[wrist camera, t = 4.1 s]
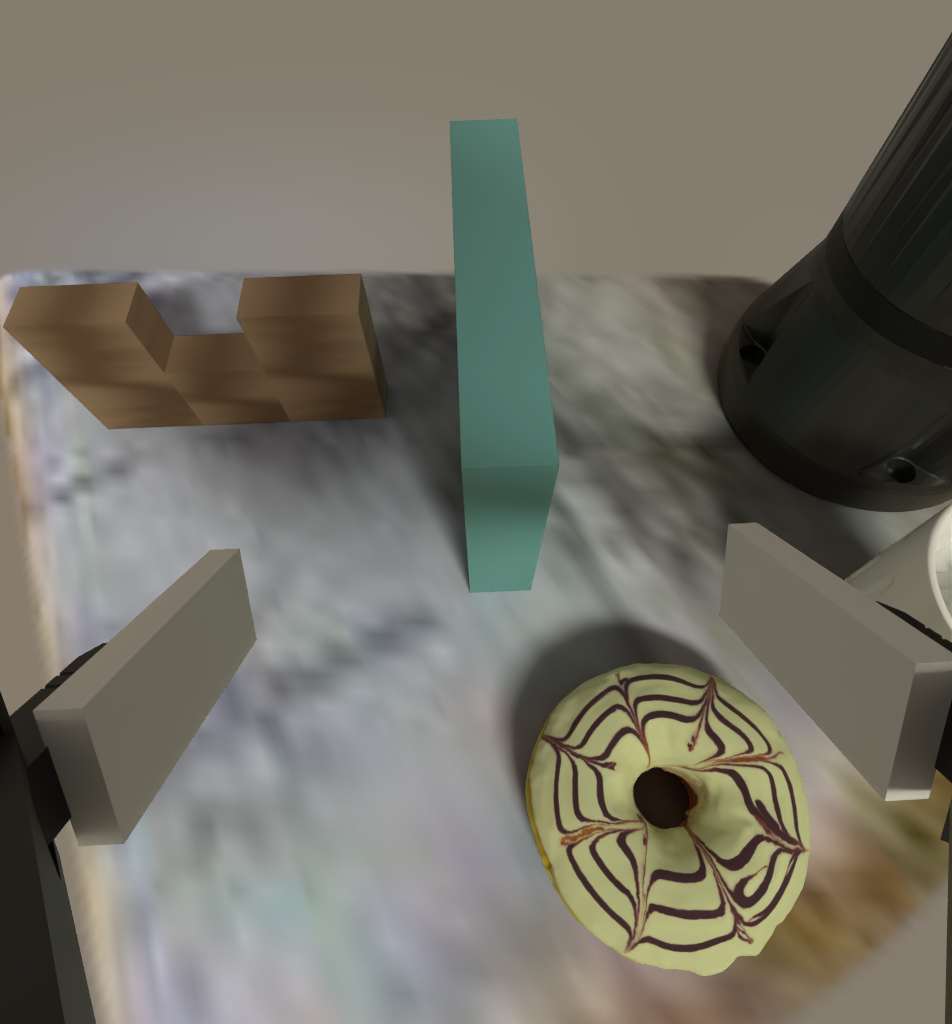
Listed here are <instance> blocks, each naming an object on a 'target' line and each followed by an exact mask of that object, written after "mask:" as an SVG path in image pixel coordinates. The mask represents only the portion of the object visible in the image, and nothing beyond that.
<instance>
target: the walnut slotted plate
mask: <svg viewBox="0 0 952 1024" xmlns="http://www.w3.org/2000/svg"><path fill="white" fill-rule="evenodd" d="M236 318H237V320H238V322H239V324H240V326H241V328H242V330H243V331H244V333H238V334H213V335H188V336H174V335H173V334H172V332H171V331H170V329H169V328H168V326H167V325H166V323H165V322H164V320H163V319H162V318H161V316H160V315H159V313H158V312H157V310H156V309H155V307H154V306H153V304H152V303H151V301H150V300H149V298H148V297H147V295H146V294H145V292H144V291H143V290H142V288H141V287H140V285H139V284H138V282H136V283H111V284H85V285H59V286H33V287H20V289H19V291H18V293H17V296H16V298H15V300H14V302H13V305H12V307H11V309H10V312H9V314H8V316H7V318H6V321H5V323H4V325H3V328H4V329H5V330H6V331H7V332H9V333H10V334H11V335H12V336H13V337H14V338H15V339H16V340H17V341H18V342H19V343H20V344H21V345H22V346H23V347H24V348H25V349H26V350H27V351H28V352H29V353H30V354H31V355H32V356H33V357H34V358H35V359H36V360H37V361H38V362H39V363H41V364H42V365H43V366H44V367H45V368H46V369H47V370H48V371H49V372H50V373H51V374H52V375H53V376H54V377H55V378H56V379H57V380H58V381H59V382H60V383H61V384H62V385H63V386H64V387H65V388H66V389H67V390H68V391H69V392H70V393H72V394H73V395H74V396H75V397H76V398H77V399H78V400H79V401H80V402H81V403H82V404H83V405H84V406H85V407H86V408H87V409H88V410H89V411H90V412H91V413H92V414H93V415H94V416H95V417H96V418H97V419H98V420H99V421H100V422H101V423H103V424H104V425H105V426H106V427H107V428H108V429H118V428H143V427H168V426H192V425H217V424H242V423H266V422H291V421H316V420H340V419H365V418H386V393H387V382H386V378H385V373H384V369H383V365H382V361H381V356H380V352H379V348H378V344H377V340H376V335H375V331H374V327H373V323H372V318H371V314H370V310H369V306H368V302H367V297H366V293H365V289H364V285H363V280H362V276H361V274H343V275H317V276H291V277H265V278H244V282H243V287H242V292H241V297H240V302H239V307H238V312H237V317H236Z"/></svg>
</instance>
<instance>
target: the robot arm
mask: <svg viewBox="0 0 952 1024" xmlns="http://www.w3.org/2000/svg"><path fill="white" fill-rule="evenodd" d="M718 388H719V394H720V398H721V402H722V405H723V408H724V410H725V413H726V415H727V417H728V419H729V421H730V423H731V425H732V426H733V428H734V430H735V431H736V433H737V434H738V436H739V437H740V438H741V440H742V441H743V442H744V443H745V445H746V446H747V447H748V448H749V449H750V450H751V451H752V452H753V453H754V454H755V455H756V457H758V458H759V459H760V460H761V461H762V462H763V463H764V464H765V465H767V466H768V467H769V468H770V469H771V470H773V471H774V472H775V473H777V474H778V475H780V476H781V477H783V478H784V479H786V480H787V481H789V482H790V483H792V484H794V485H796V486H797V487H799V488H801V489H803V490H805V491H807V492H809V493H811V494H813V495H816V496H818V497H820V498H823V499H826V500H828V501H831V502H834V503H838V504H841V505H844V506H848V507H853V508H857V509H863V510H870V511H879V512H904V511H914V510H920V509H924V508H929V507H932V506H935V505H938V504H941V503H943V502H946V501H948V500H950V499H952V33H951V35H950V36H949V38H948V40H947V41H946V43H945V44H944V46H943V48H942V49H941V51H940V53H939V54H938V56H937V58H936V59H935V61H934V62H933V64H932V66H931V67H930V69H929V71H928V72H927V74H926V76H925V77H924V79H923V81H922V82H921V84H920V85H919V87H918V89H917V90H916V92H915V94H914V95H913V97H912V98H911V100H910V102H909V104H908V105H907V107H906V108H905V110H904V112H903V113H902V115H901V116H900V118H899V120H898V121H897V123H896V125H895V126H894V128H893V130H892V131H891V133H890V134H889V136H888V138H887V139H886V141H885V143H884V144H883V146H882V148H881V149H880V151H879V153H878V154H877V156H876V157H875V159H874V161H873V162H872V164H871V166H870V167H869V169H868V171H867V172H866V174H865V175H864V177H863V179H862V180H861V182H860V184H859V185H858V187H857V188H856V190H855V192H854V194H853V195H852V197H851V198H850V200H849V202H848V204H847V206H846V207H845V209H844V210H843V212H842V213H841V215H840V217H839V218H838V220H837V221H836V223H835V224H834V226H833V228H832V229H831V231H830V232H829V234H828V236H827V237H826V238H825V239H824V240H823V241H822V242H821V243H820V244H818V245H817V246H816V247H815V248H814V249H813V250H812V251H810V252H809V253H808V254H807V255H806V256H805V257H804V258H802V259H801V260H800V261H799V262H798V263H797V264H796V265H795V266H793V267H792V268H791V269H790V270H789V271H788V272H787V273H785V274H784V275H783V276H782V277H781V278H780V279H779V280H777V281H776V282H775V283H774V284H773V285H772V286H771V287H769V288H768V289H767V290H766V291H765V292H764V293H763V294H762V295H760V296H759V297H758V298H757V299H756V300H755V301H754V302H753V303H752V304H751V305H750V306H749V307H748V309H747V310H746V311H745V312H744V314H743V315H742V316H741V318H740V319H739V321H738V323H737V325H736V326H735V328H734V330H733V332H732V334H731V336H730V337H729V339H728V341H727V343H726V345H725V347H724V349H723V351H722V354H721V357H720V361H719V366H718ZM719 615H720V617H721V618H722V619H723V620H724V621H725V622H726V623H727V624H728V626H729V627H730V628H731V629H732V630H733V631H734V632H735V633H736V635H737V636H738V637H739V638H740V639H741V640H742V641H743V642H744V644H745V645H746V646H747V647H748V648H749V649H750V650H751V651H752V653H753V654H754V655H755V656H756V657H757V658H758V659H759V660H760V661H761V663H762V664H763V665H764V666H765V667H766V668H767V669H768V670H769V672H770V673H771V674H772V675H773V676H774V677H775V678H776V679H777V681H778V682H779V683H780V684H781V685H782V686H783V687H784V688H785V690H786V691H787V692H788V693H789V694H790V695H791V696H792V697H793V699H794V700H795V701H796V702H797V703H798V704H799V705H800V706H801V707H802V709H803V710H804V711H805V712H806V713H807V714H808V715H809V716H810V718H811V719H812V720H813V721H814V722H815V723H816V724H817V725H818V727H819V728H820V729H821V730H822V731H823V732H824V733H825V734H826V736H827V737H828V738H829V739H830V740H831V741H832V742H833V743H834V745H835V746H836V747H837V748H838V749H839V750H840V751H841V752H842V753H843V755H844V756H845V757H846V758H847V759H848V760H849V761H850V762H851V764H852V765H853V766H854V767H855V768H856V769H857V770H858V771H859V773H860V774H861V775H862V776H863V777H864V778H865V779H866V780H867V782H868V783H869V784H870V785H871V786H872V787H873V788H874V789H875V790H876V792H877V793H878V794H879V795H880V796H881V797H882V798H883V799H884V801H894V800H911V799H929V795H930V791H931V787H932V783H933V780H934V776H935V772H936V769H937V770H938V771H939V772H940V773H941V774H942V775H944V776H945V777H946V778H947V779H948V780H949V781H950V782H951V783H952V642H950V641H949V640H947V639H942V636H941V635H939V634H938V633H936V632H935V631H933V630H932V629H930V628H925V625H924V624H922V623H921V622H919V621H918V620H916V619H915V618H913V617H911V616H910V615H908V614H907V613H905V612H903V611H901V610H898V609H896V608H893V607H891V606H888V605H886V604H883V603H881V602H878V601H874V600H872V599H871V598H869V597H868V596H866V595H865V594H863V593H862V592H860V591H859V590H857V589H856V588H854V587H853V586H851V585H850V584H848V583H847V582H845V581H844V580H842V579H841V578H839V577H838V576H836V575H835V574H833V573H832V572H830V571H829V570H827V569H826V568H824V567H823V566H821V565H820V564H818V563H817V562H815V561H814V560H812V559H811V558H809V557H808V556H806V555H805V554H803V553H802V552H800V551H799V550H797V549H796V548H794V547H793V546H791V545H790V544H788V543H787V542H785V541H784V540H782V539H781V538H779V537H778V536H776V535H775V534H773V533H772V532H770V531H769V530H767V529H766V528H764V527H763V526H761V525H760V524H758V523H738V524H728V534H727V544H726V554H725V564H724V574H723V584H722V594H721V603H720V613H719ZM256 640H257V639H256V634H255V629H254V623H253V618H252V613H251V607H250V602H249V597H248V591H247V586H246V581H245V575H244V570H243V565H242V560H241V554H240V549H224V550H210V551H209V552H208V553H207V554H206V555H205V556H204V557H202V558H201V559H200V560H199V561H198V562H197V563H196V564H195V565H194V566H193V567H191V568H190V569H189V570H188V571H187V572H186V573H185V574H184V575H183V576H181V577H180V578H179V579H178V580H177V581H176V582H175V583H174V584H173V585H171V586H170V587H169V588H168V589H167V590H166V591H165V592H164V593H163V594H161V595H160V596H159V597H158V598H157V599H156V600H155V601H154V602H153V603H151V604H150V605H149V606H148V607H147V608H146V609H145V610H144V611H143V612H141V613H140V614H139V615H138V616H137V617H136V618H135V619H134V620H133V621H132V622H130V623H129V624H128V625H127V626H126V627H125V628H124V629H123V630H122V631H120V632H119V633H118V634H117V635H116V636H115V637H114V638H113V639H112V640H110V641H109V642H108V643H103V644H101V645H99V646H97V647H95V648H94V649H92V650H90V651H88V652H86V653H85V654H83V655H81V656H79V657H78V658H76V659H75V660H74V661H73V662H72V663H71V664H70V665H68V666H67V667H66V668H65V669H64V670H63V671H61V672H60V676H56V677H55V678H53V679H52V680H51V681H50V682H49V683H48V684H47V685H45V689H41V690H40V691H38V692H37V694H35V695H34V696H33V697H32V698H30V699H29V700H28V701H27V702H26V703H25V704H24V705H22V706H21V707H20V708H19V709H18V710H17V711H15V712H14V713H13V714H12V715H11V716H10V717H9V714H8V712H7V709H6V706H5V703H4V700H3V698H2V695H1V692H0V1024H96V1021H95V1017H94V1012H93V1008H92V1003H91V998H90V994H89V989H88V985H87V980H86V975H85V971H84V966H83V962H82V957H81V952H80V948H79V943H78V939H77V934H76V929H75V925H74V920H73V916H72V911H71V906H70V902H69V897H68V893H67V888H66V883H65V879H64V875H63V870H62V865H61V860H60V856H59V853H58V850H57V847H56V844H55V842H54V838H55V837H56V836H57V834H58V833H59V832H60V831H61V829H62V828H63V827H64V826H65V824H66V823H67V822H68V821H69V819H70V821H71V824H72V827H73V830H74V833H75V836H76V838H77V841H78V844H79V846H90V845H108V844H124V843H125V842H126V840H127V839H128V837H129V835H130V834H131V832H132V831H133V829H134V828H135V826H136V825H137V823H138V822H139V820H140V818H141V817H142V815H143V814H144V812H145V811H146V809H147V808H148V806H149V805H150V803H151V802H152V800H153V798H154V797H155V795H156V794H157V792H158V791H159V789H160V788H161V786H162V785H163V783H164V781H165V780H166V778H167V777H168V775H169V774H170V772H171V771H172V769H173V768H174V766H175V765H176V763H177V761H178V760H179V758H180V757H181V755H182V754H183V752H184V751H185V749H186V748H187V746H188V744H189V743H190V741H191V740H192V738H193V737H194V735H195V734H196V732H197V731H198V729H199V727H200V726H201V724H202V723H203V721H204V720H205V718H206V717H207V715H208V714H209V712H210V711H211V709H212V707H213V706H214V704H215V703H216V701H217V700H218V698H219V697H220V695H221V694H222V692H223V690H224V689H225V687H226V686H227V684H228V683H229V681H230V680H231V678H232V677H233V675H234V673H235V672H236V670H237V669H238V667H239V666H240V664H241V663H242V661H243V660H244V658H245V657H246V655H247V653H248V652H249V650H250V649H251V647H252V646H253V644H254V643H255V641H256ZM940 840H943V841H945V842H948V843H949V872H948V917H947V958H946V1001H945V1024H952V799H951V803H950V807H949V810H948V814H947V817H946V821H945V825H944V828H943V832H942V836H941V839H940Z"/></svg>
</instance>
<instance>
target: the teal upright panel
mask: <svg viewBox="0 0 952 1024" xmlns="http://www.w3.org/2000/svg"><path fill="white" fill-rule="evenodd" d="M450 142H451V169H452V170H451V173H452V202H453V231H454V261H455V292H456V322H457V352H458V381H459V411H460V441H461V470H462V484H463V498H464V513H465V527H466V542H467V556H468V570H469V585H470V592H493V591H516V590H531V585H532V581H533V577H534V572H535V568H536V564H537V559H538V555H539V551H540V546H541V542H542V538H543V533H544V529H545V525H546V520H547V516H548V512H549V507H550V503H551V498H552V494H553V490H554V485H555V481H556V477H557V472H558V468H559V458H558V450H557V442H556V434H555V426H554V418H553V409H552V401H551V393H550V385H549V377H548V369H547V361H546V352H545V344H544V336H543V328H542V320H541V312H540V303H539V295H538V287H537V279H536V271H535V263H534V255H533V246H532V239H531V230H530V222H529V215H528V206H527V198H526V189H525V181H524V174H523V166H522V157H521V149H520V140H519V133H518V124H517V119H496V120H468V121H450Z"/></svg>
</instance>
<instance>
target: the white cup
mask: <svg viewBox="0 0 952 1024" xmlns="http://www.w3.org/2000/svg"><path fill="white" fill-rule="evenodd" d="M844 581H845V582H847V583H848V584H850V585H851V586H853V587H854V588H856V589H857V590H859V591H860V592H862V593H863V594H865V595H866V596H868V597H869V598H871V599H872V600H874V601H878V602H881V603H883V604H886V605H888V606H891V607H893V608H896V609H898V610H901V611H903V612H905V613H907V614H908V615H910V616H911V617H913V618H915V619H916V620H918V621H919V622H921V623H922V624H924V625H925V628H930V629H932V630H933V631H935V632H936V633H938V634H939V635H941V636H942V639H947V640H949V641H950V642H952V503H951V504H950V505H948V506H947V507H945V508H944V509H943V510H941V511H940V512H938V513H937V514H936V515H934V516H933V517H931V518H930V519H928V520H927V521H926V522H924V523H923V524H921V525H920V526H918V527H917V528H915V529H914V530H913V531H911V532H910V533H908V534H907V535H905V536H904V537H902V538H901V539H899V540H898V541H897V542H895V543H894V544H892V545H891V546H889V547H888V548H886V549H885V550H883V551H882V552H881V553H879V554H878V555H876V556H875V557H874V558H872V559H871V560H870V561H868V562H867V563H866V564H865V565H863V566H862V567H861V568H860V569H858V570H857V571H855V572H854V573H852V574H851V575H849V576H848V577H847V578H846V579H845V580H844Z"/></svg>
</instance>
